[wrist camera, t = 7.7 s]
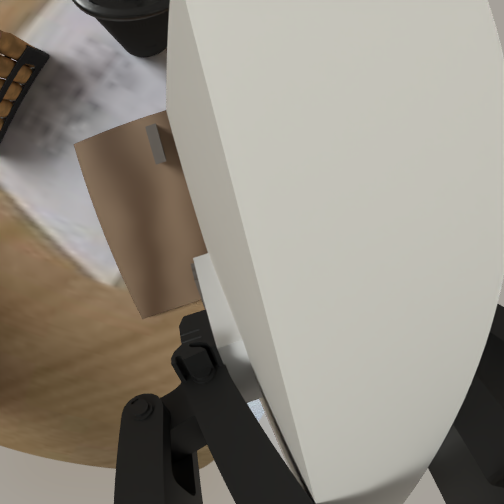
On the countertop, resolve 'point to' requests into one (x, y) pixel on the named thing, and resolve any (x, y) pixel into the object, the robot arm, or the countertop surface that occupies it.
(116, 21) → the drinking cup
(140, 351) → the countertop surface
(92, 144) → the clip board
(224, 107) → the door panel
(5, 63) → the ammunition clip
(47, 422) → the countertop surface
